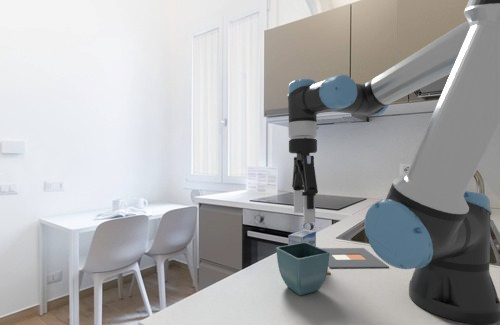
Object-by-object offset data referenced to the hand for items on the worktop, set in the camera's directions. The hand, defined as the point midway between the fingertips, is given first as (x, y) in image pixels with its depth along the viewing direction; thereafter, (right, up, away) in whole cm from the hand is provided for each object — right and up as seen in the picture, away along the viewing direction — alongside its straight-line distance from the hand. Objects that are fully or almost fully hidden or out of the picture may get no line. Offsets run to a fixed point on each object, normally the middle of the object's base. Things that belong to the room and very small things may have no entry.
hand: (303, 217), depth 78 cm
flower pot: (-3, -14, -13) cm, 19 cm away
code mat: (+15, -13, +7) cm, 21 cm away
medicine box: (0, -13, +1) cm, 13 cm away
